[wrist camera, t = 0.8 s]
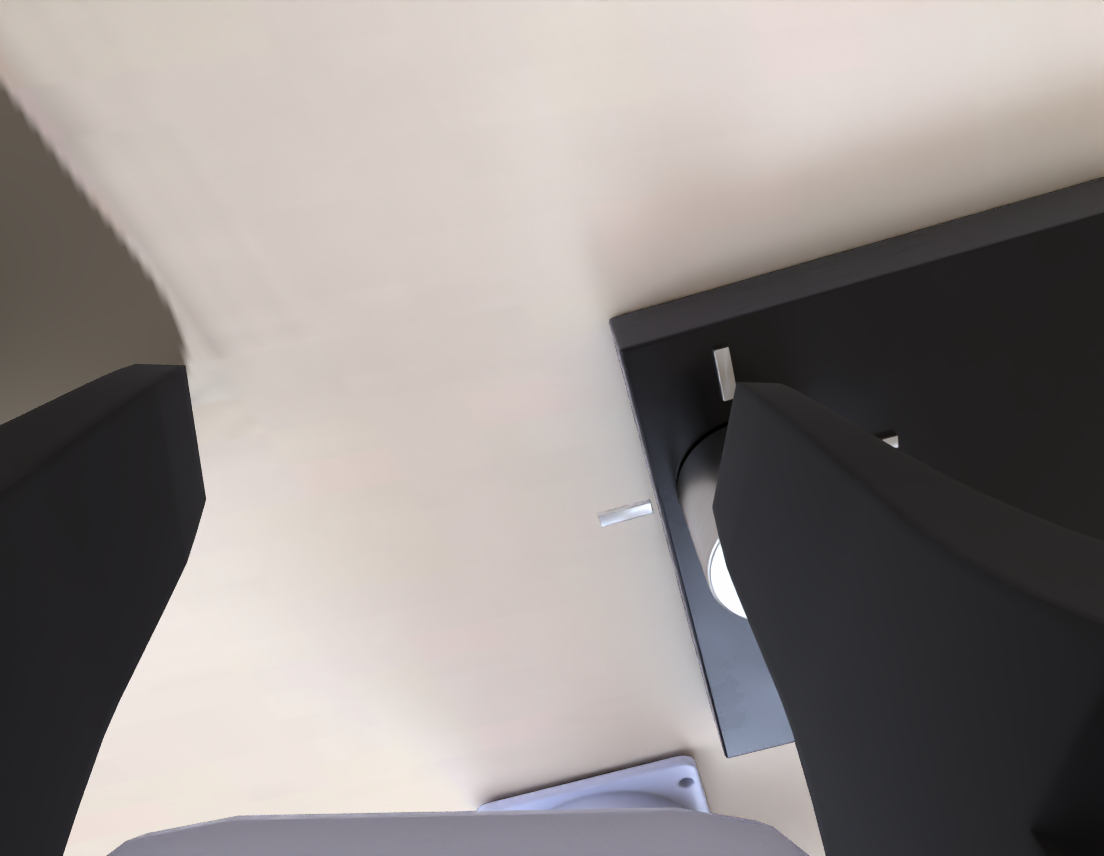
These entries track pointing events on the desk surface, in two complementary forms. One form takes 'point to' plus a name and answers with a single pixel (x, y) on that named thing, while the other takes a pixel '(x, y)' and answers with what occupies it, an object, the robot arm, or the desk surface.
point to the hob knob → (707, 516)
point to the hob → (888, 386)
